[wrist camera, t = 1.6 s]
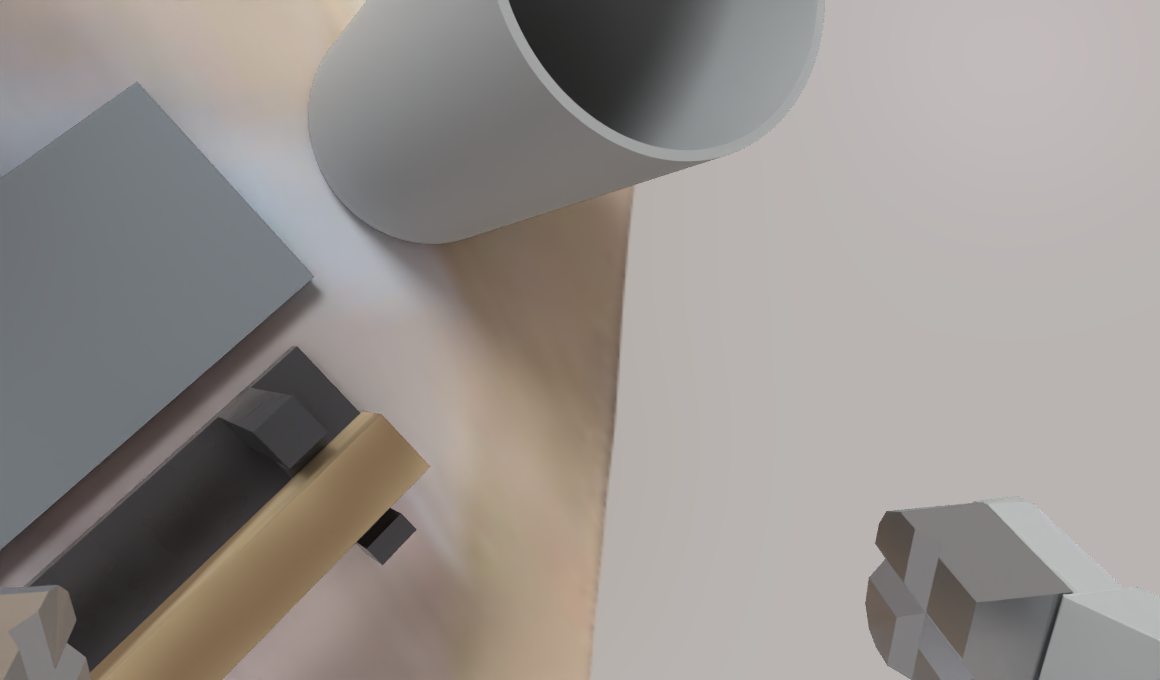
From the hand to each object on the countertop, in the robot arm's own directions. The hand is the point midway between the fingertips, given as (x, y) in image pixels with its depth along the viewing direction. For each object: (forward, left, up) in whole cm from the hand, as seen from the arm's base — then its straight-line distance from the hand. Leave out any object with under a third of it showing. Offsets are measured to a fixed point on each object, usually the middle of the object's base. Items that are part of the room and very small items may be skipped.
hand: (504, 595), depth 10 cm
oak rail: (+6, -6, -32) cm, 33 cm away
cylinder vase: (-2, +19, -41) cm, 45 cm away
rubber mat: (-6, -5, -41) cm, 42 cm away
